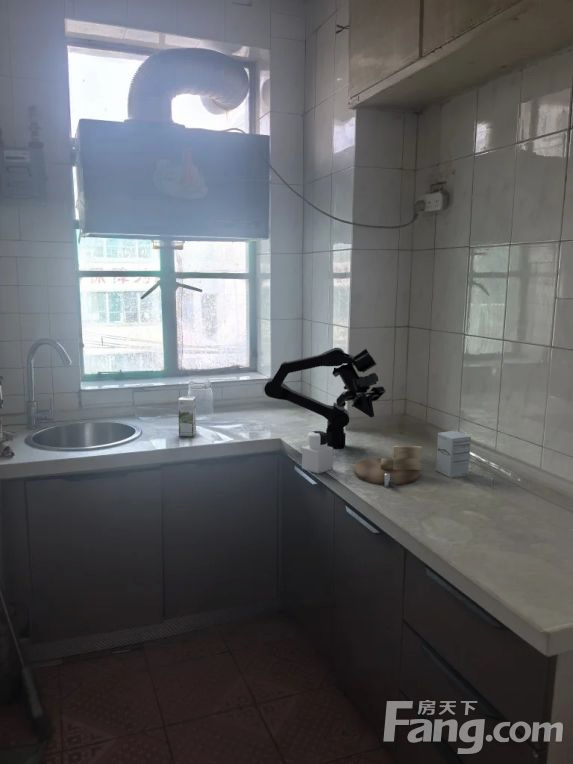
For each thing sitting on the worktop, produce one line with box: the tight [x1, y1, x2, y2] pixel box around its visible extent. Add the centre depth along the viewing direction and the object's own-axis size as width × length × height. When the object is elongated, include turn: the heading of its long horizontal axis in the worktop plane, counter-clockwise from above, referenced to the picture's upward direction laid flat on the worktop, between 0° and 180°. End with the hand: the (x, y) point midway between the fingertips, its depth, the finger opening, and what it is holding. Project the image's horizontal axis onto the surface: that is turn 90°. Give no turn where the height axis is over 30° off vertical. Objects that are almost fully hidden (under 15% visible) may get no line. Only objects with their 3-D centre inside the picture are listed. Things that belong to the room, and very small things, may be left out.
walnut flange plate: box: [353, 445, 423, 488], centre depth 187 cm, size 20×22×9 cm
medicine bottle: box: [301, 430, 334, 475], centre depth 192 cm, size 7×7×12 cm
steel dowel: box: [383, 473, 390, 489], centre depth 177 cm, size 2×2×4 cm
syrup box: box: [177, 396, 197, 438], centre depth 229 cm, size 6×6×14 cm
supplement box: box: [435, 430, 472, 479], centre depth 189 cm, size 7×7×13 cm
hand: (372, 416), depth 205 cm, fingers closed
